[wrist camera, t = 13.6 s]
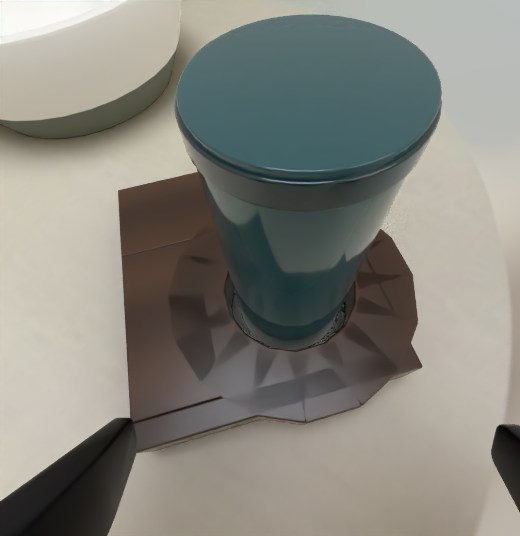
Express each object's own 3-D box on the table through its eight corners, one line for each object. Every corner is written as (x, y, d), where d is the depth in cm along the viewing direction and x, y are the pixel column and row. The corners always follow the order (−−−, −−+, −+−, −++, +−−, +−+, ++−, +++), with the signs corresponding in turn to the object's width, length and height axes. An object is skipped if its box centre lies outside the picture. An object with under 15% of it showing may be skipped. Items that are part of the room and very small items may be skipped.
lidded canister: (300, 374, 16) (354, 231, 5) (219, 311, 18) (115, 100, 7) (357, 293, 18) (491, 53, 7) (278, 244, 20) (277, -7, 9)
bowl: (62, 15, 37) (9, -88, 30) (233, 35, 33) (220, -80, 26) (-88, 135, 28) (-221, 26, 20) (125, 186, 23) (54, 72, 16)
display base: (443, 381, 16) (470, 373, 13) (155, 469, 14) (132, 476, 12) (329, 167, 23) (335, 139, 21) (133, 214, 22) (117, 190, 20)
